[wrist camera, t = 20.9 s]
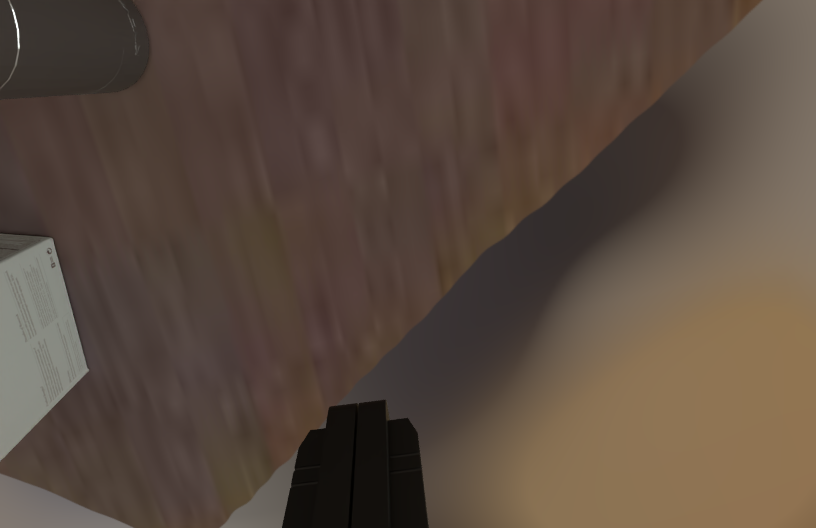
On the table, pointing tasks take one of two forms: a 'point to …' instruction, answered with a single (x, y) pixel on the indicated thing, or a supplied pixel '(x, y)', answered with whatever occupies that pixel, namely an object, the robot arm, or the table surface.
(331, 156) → the table surface
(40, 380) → the supplement box
